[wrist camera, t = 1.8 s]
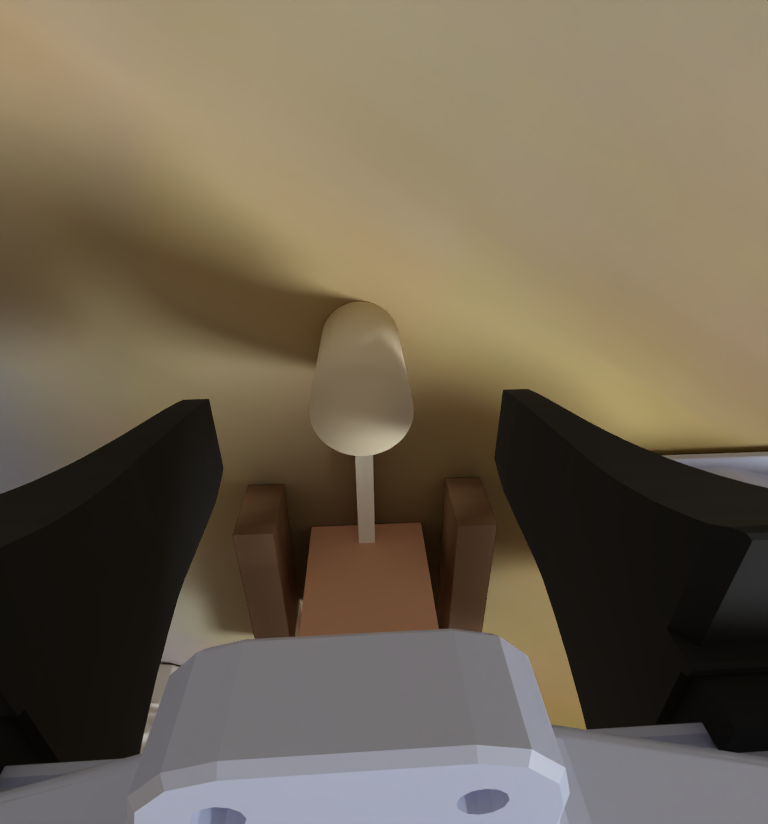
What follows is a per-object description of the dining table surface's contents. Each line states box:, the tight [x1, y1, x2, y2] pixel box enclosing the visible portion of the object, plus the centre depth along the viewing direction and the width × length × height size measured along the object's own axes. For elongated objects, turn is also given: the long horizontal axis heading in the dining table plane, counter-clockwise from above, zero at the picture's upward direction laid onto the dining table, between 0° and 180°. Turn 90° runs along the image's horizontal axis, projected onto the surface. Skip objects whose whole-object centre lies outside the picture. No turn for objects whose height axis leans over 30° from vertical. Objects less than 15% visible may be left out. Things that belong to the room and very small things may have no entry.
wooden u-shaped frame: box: [233, 477, 497, 639], centre depth 22 cm, size 10×10×3 cm
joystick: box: [299, 301, 439, 636], centre depth 18 cm, size 5×15×6 cm, turn 1°
